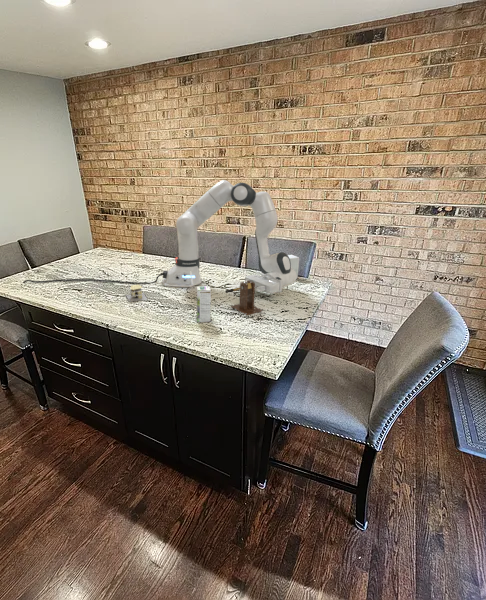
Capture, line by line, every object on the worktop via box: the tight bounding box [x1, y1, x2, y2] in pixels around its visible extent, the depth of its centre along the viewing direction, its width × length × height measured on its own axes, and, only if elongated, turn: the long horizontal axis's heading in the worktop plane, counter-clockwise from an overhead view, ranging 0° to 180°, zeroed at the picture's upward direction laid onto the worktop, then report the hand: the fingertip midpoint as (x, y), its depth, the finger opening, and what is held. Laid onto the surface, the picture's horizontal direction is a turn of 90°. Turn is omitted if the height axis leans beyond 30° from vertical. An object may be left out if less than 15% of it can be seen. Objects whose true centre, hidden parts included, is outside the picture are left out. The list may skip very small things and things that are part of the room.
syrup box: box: [196, 285, 212, 323], centre depth 144 cm, size 6×6×14 cm
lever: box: [225, 283, 252, 294], centre depth 155 cm, size 13×9×2 cm
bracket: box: [230, 280, 263, 316], centre depth 152 cm, size 12×9×14 cm
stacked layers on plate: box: [126, 284, 148, 303], centre depth 171 cm, size 10×9×6 cm
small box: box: [287, 254, 300, 280], centre depth 200 cm, size 8×6×13 cm
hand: (249, 286), depth 165 cm, fingers open, 8 cm apart
